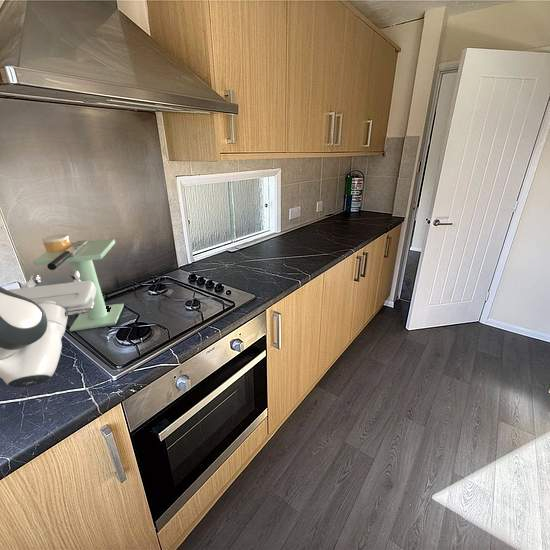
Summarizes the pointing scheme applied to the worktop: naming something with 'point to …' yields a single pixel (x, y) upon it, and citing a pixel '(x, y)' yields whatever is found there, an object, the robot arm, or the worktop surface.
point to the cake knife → (67, 254)
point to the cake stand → (84, 277)
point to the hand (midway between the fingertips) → (56, 274)
